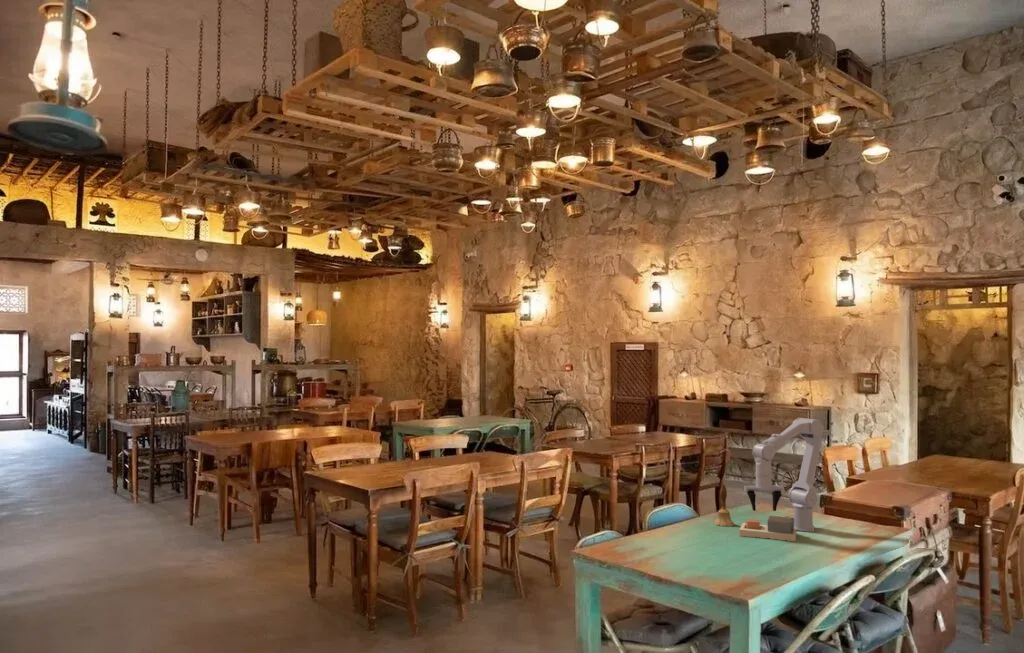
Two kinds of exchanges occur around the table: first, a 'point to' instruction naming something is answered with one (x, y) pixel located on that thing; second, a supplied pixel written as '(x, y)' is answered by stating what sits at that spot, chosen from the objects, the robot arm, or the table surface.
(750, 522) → the block
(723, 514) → the hand bell
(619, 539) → the table surface
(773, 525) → the cover
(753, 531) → the board
